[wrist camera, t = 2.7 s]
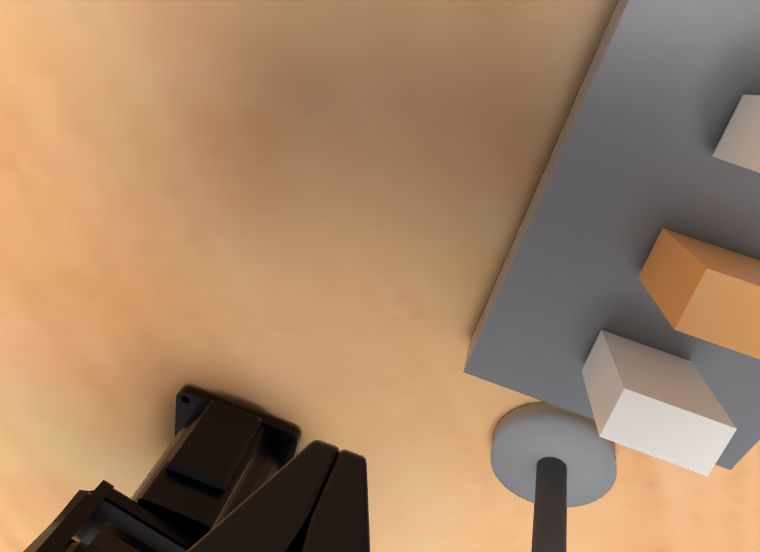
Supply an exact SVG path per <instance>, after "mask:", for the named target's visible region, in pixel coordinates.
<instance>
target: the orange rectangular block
mask: <svg viewBox="0 0 760 552" xmlns="http://www.w3.org/2000/svg"><path fill="white" fill-rule="evenodd" d="M638 278H639V279H640V281H641V282H642V284H643V285H644V287H645V288H646V289H647V291H648V292H649V294H650V295H651V297H652V298H653V300H654V301H655V302H656V304H657V305H658V307H659V308H660V310H661V311H662V313H663V314H664V315H665V317H666V318H667V320H668V321H669V323H670V324H671V326H672V327H673V328H674V330H677V331H680V332H683V333H685V334H688V335H691V336H694V337H697V338H700V339H703V340H705V341H708V342H711V343H714V344H717V345H720V346H723V347H726V348H728V349H731V350H734V351H737V352H740V353H743V354H746V355H748V356H751V357H754V358H757V359H760V260H757V259H754V258H751V257H748V256H745V255H742V254H739V253H736V252H733V251H730V250H727V249H724V248H721V247H718V246H715V245H712V244H709V243H706V242H703V241H700V240H697V239H694V238H691V237H688V236H685V235H682V234H679V233H676V232H673V231H670V230H667V229H664V228H662V230H661V232H660V234H659V236H658V238H657V240H656V242H655V244H654V246H653V248H652V251H651V253H650V255H649V257H648V259H647V261H646V263H645V265H644V267H643V269H642V271H641V273H640V275H639V277H638Z"/></svg>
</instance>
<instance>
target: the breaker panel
mask: <svg viewBox="0 0 760 552" xmlns="http://www.w3.org/2000/svg"><path fill="white" fill-rule="evenodd" d="M743 95H760V0H618V3H617V5H616V7H615V10H614V12H613V14H612V16H611V19H610V21H609V23H608V26H607V28H606V30H605V33H604V35H603V37H602V39H601V42H600V44H599V46H598V49H597V51H596V53H595V55H594V58H593V60H592V62H591V65H590V67H589V69H588V72H587V74H586V76H585V78H584V81H583V83H582V85H581V88H580V90H579V92H578V94H577V97H576V99H575V101H574V104H573V106H572V108H571V111H570V113H569V115H568V117H567V120H566V122H565V124H564V127H563V129H562V131H561V134H560V136H559V138H558V140H557V143H556V145H555V147H554V150H553V152H552V154H551V156H550V159H549V161H548V163H547V166H546V168H545V170H544V173H543V175H542V177H541V179H540V182H539V184H538V186H537V189H536V191H535V193H534V195H533V198H532V200H531V202H530V205H529V207H528V209H527V212H526V214H525V216H524V218H523V221H522V223H521V225H520V228H519V230H518V232H517V235H516V237H515V239H514V241H513V244H512V246H511V248H510V251H509V253H508V255H507V257H506V260H505V262H504V264H503V267H502V269H501V271H500V274H499V276H498V278H497V280H496V283H495V285H494V287H493V290H492V292H491V294H490V296H489V299H488V301H487V303H486V306H485V308H484V310H483V313H482V315H481V317H480V319H479V322H478V324H477V326H476V329H475V331H474V333H473V336H472V338H471V341H470V346H469V350H468V354H467V359H466V363H465V368H464V372H465V373H468V374H470V375H473V376H476V377H479V378H481V379H484V380H487V381H490V382H492V383H495V384H498V385H500V386H503V387H506V388H509V389H511V390H514V391H517V392H520V393H522V394H525V395H528V396H530V397H533V398H536V399H539V400H541V401H544V402H547V403H550V404H552V405H555V406H558V407H560V408H563V409H566V410H569V411H571V412H574V413H577V414H580V415H582V416H585V417H588V418H590V419H593V420H595V419H594V415H593V411H592V408H591V404H590V400H589V397H588V393H587V389H586V386H585V382H584V378H583V375H582V371H581V370H582V368H583V366H584V364H585V362H586V360H587V358H588V356H589V354H590V352H591V350H592V348H593V346H594V344H595V341H596V339H597V337H598V335H599V333H600V331H601V330H604V331H607V332H609V333H612V334H615V335H618V336H621V337H624V338H626V339H629V340H632V341H635V342H638V343H641V344H643V345H646V346H649V347H652V348H655V349H658V350H660V351H663V352H666V353H669V354H672V355H675V356H677V357H680V358H683V359H686V360H689V361H692V363H693V364H694V366H695V367H696V369H697V370H698V372H699V373H700V375H701V376H702V378H703V379H704V381H705V382H706V384H707V385H708V387H709V388H710V390H711V391H712V393H713V394H714V395H715V397H716V398H717V400H718V401H719V403H720V404H721V406H722V407H723V409H724V410H725V412H726V413H727V415H728V416H729V418H730V419H731V421H732V422H733V424H734V425H735V427H736V428H737V430H736V431H735V433H734V435H733V436H732V438H731V439H730V441H729V443H728V444H727V446H726V447H725V449H724V451H723V452H722V454H721V456H720V457H719V459H718V460H717V462H716V465H719V466H721V467H724V468H727V469H730V470H731V469H732V468H733V467H734V466H735V465H736V464H737V463H738V462H739V461H740V459H741V458H742V457H743V456H744V455H745V454H746V453H747V452H748V451H749V450H750V449H751V448H752V447H753V446H754V445H755V444H756V443H757V442H758V441H759V440H760V359H757V358H754V357H751V356H748V355H746V354H743V353H740V352H737V351H734V350H731V349H728V348H726V347H723V346H720V345H717V344H714V343H711V342H708V341H705V340H703V339H700V338H697V337H694V336H691V335H688V334H685V333H683V332H680V331H677V330H674V328H673V327H672V326H671V324H670V323H669V321H668V320H667V318H666V317H665V315H664V314H663V313H662V311H661V310H660V308H659V307H658V305H657V304H656V302H655V301H654V300H653V298H652V297H651V295H650V294H649V292H648V291H647V289H646V288H645V287H644V285H643V284H642V282H641V281H640V279H639V278H638V277H639V275H640V273H641V271H642V269H643V267H644V265H645V263H646V261H647V259H648V257H649V255H650V253H651V251H652V248H653V246H654V244H655V242H656V240H657V238H658V236H659V234H660V232H661V230H662V228H664V229H667V230H670V231H673V232H676V233H679V234H682V235H685V236H688V237H691V238H694V239H697V240H700V241H703V242H706V243H709V244H712V245H715V246H718V247H721V248H724V249H727V250H730V251H733V252H736V253H739V254H742V255H745V256H748V257H751V258H754V259H757V260H760V173H758V172H755V171H752V170H749V169H747V168H744V167H741V166H738V165H735V164H732V163H729V162H727V161H724V160H721V159H718V158H715V157H712V156H713V154H714V152H715V150H716V148H717V146H718V144H719V142H720V140H721V138H722V136H723V134H724V132H725V130H726V128H727V126H728V124H729V122H730V120H731V118H732V116H733V114H734V112H735V110H736V108H737V106H738V104H739V102H740V100H741V98H742V96H743Z"/></svg>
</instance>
